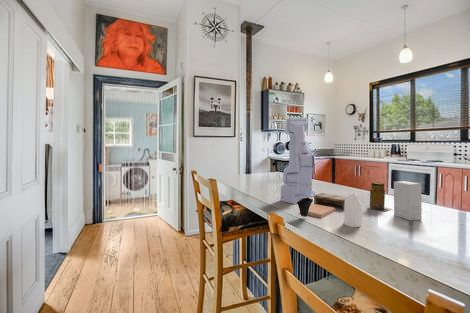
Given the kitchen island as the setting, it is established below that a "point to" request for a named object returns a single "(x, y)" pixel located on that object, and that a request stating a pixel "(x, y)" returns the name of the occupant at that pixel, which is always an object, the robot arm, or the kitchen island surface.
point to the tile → (320, 210)
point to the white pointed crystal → (352, 211)
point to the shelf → (330, 199)
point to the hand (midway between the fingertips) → (303, 216)
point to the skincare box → (407, 200)
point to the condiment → (377, 197)
